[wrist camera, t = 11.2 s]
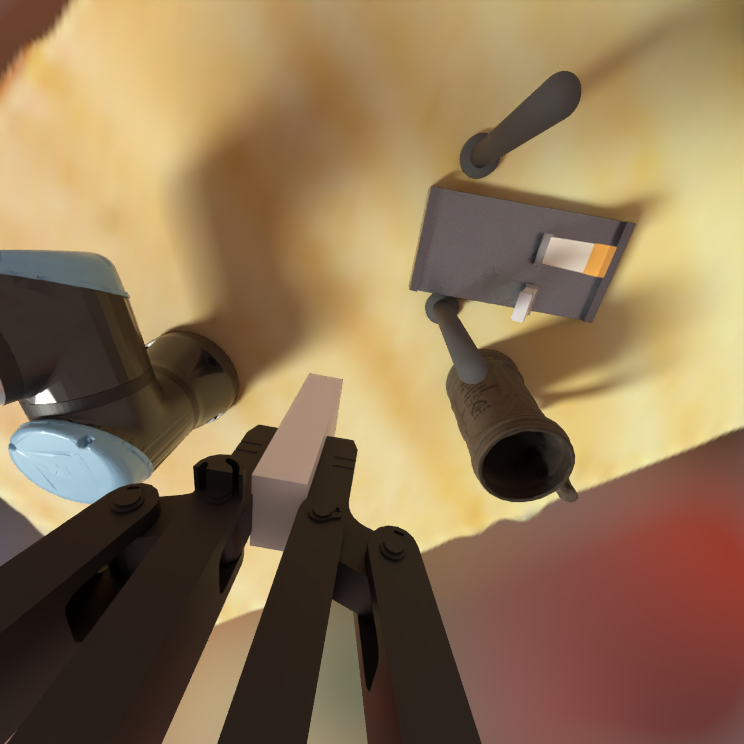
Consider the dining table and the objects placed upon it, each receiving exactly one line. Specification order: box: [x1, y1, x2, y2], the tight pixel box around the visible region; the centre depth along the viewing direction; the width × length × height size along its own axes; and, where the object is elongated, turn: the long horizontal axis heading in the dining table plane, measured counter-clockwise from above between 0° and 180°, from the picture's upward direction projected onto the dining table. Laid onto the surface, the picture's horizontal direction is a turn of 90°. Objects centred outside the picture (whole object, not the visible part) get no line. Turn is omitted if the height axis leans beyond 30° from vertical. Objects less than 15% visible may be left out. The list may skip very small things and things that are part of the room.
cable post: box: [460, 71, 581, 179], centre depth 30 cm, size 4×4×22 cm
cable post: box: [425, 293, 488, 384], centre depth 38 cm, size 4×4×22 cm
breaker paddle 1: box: [511, 284, 540, 323], centre depth 41 cm, size 2×4×8 cm, turn 171°
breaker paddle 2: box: [534, 233, 617, 278], centre depth 39 cm, size 2×4×8 cm
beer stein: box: [446, 350, 578, 503], centre depth 44 cm, size 15×11×20 cm
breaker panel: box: [409, 186, 636, 323], centre depth 43 cm, size 24×12×3 cm, turn 81°
